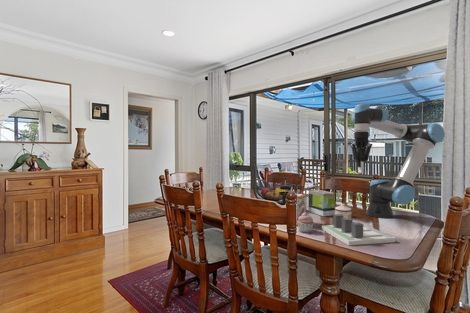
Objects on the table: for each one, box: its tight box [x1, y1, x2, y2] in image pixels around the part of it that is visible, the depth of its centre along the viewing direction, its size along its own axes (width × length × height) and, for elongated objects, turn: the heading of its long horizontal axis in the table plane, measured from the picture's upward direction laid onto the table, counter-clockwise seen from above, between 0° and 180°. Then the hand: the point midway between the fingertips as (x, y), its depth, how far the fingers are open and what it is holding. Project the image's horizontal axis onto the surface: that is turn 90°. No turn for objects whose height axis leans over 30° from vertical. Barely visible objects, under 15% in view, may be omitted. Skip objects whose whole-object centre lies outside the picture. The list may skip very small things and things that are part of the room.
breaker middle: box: [342, 218, 354, 232], centre depth 134 cm, size 4×3×6 cm
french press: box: [278, 176, 293, 205], centre depth 188 cm, size 12×9×23 cm
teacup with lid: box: [335, 203, 353, 219], centre depth 155 cm, size 12×9×12 cm
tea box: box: [308, 189, 336, 217], centre depth 179 cm, size 15×10×15 cm, turn 23°
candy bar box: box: [296, 193, 308, 220], centre depth 155 cm, size 11×5×16 cm, turn 135°
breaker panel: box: [321, 223, 396, 246], centre depth 135 cm, size 24×24×2 cm
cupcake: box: [296, 211, 315, 234], centre depth 141 cm, size 9×9×10 cm
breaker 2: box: [351, 221, 364, 237], centre depth 126 cm, size 4×3×6 cm
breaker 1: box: [332, 214, 343, 227], centre depth 141 cm, size 4×3×6 cm
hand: (360, 172), depth 154 cm, fingers closed
